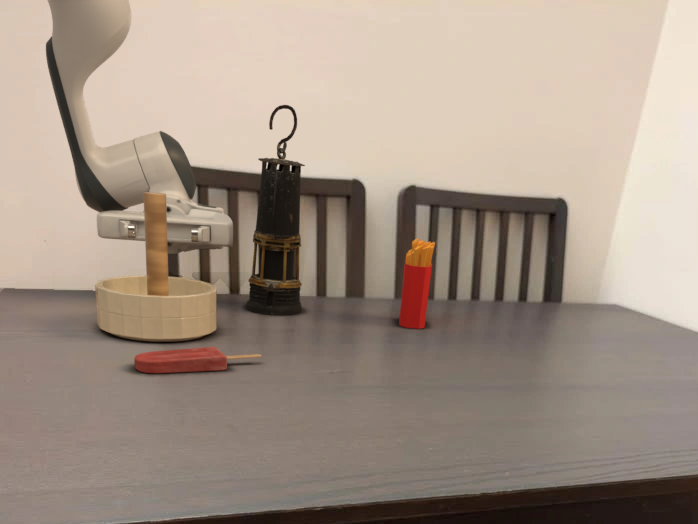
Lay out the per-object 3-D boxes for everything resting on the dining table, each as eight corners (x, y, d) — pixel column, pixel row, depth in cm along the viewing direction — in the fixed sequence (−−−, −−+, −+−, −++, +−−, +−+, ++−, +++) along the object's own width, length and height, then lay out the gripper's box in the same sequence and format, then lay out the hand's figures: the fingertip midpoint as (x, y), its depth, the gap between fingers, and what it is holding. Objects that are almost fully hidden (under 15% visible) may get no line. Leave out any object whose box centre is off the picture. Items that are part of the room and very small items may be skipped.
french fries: (398, 317, 121) (407, 235, 116) (424, 319, 121) (433, 238, 116) (398, 328, 113) (407, 241, 108) (426, 331, 113) (436, 244, 108)
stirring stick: (136, 323, 100) (130, 191, 93) (164, 320, 103) (161, 192, 96) (153, 330, 97) (148, 194, 90) (181, 327, 100) (179, 195, 93)
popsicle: (267, 353, 86) (138, 361, 80) (267, 367, 87) (139, 376, 81) (254, 343, 90) (130, 351, 83) (254, 357, 91) (131, 365, 84)
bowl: (78, 323, 100) (74, 278, 98) (177, 313, 110) (177, 273, 108) (135, 349, 90) (133, 300, 88) (238, 336, 100) (239, 292, 98)
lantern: (268, 316, 113) (274, 101, 101) (234, 305, 119) (236, 100, 107) (312, 312, 119) (323, 108, 107) (278, 301, 125) (285, 106, 113)
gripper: (101, 198, 115) (86, 205, 103) (232, 208, 119) (233, 216, 107) (104, 240, 118) (89, 251, 105) (232, 248, 122) (233, 260, 109)
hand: (163, 234), depth 106 cm, fingers open, 8 cm apart
